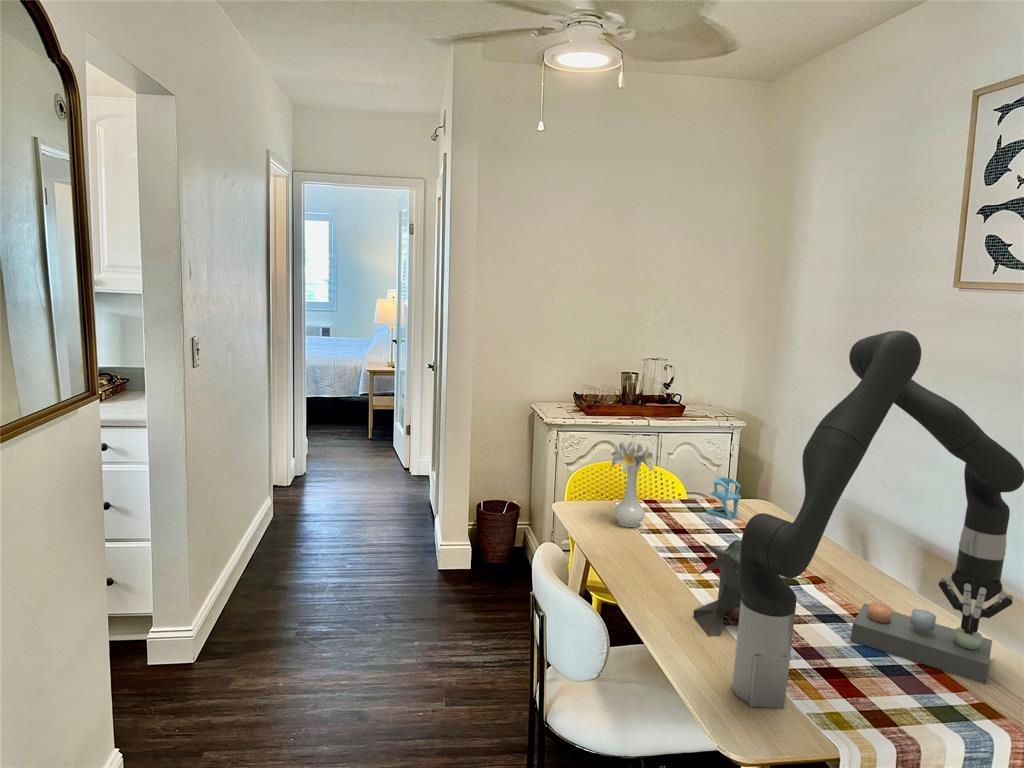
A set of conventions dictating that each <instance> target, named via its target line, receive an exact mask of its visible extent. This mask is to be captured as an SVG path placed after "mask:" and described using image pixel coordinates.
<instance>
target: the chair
mask: <svg viewBox="0 0 1024 768" xmlns="http://www.w3.org/2000/svg"><path fill="white" fill-rule="evenodd" d="M729 484H733V485H735V486H736V487H737V488H736V489H735V493H734V492H731V491H729V489H730V487H729ZM718 486H721V487H723V488H724V490H719V491H718ZM713 487H714V490H713V491H711V495H712V496H713V497H716V498H717V499H718V500H719V502H721V504H722V506H723V507H718V508H712V509H708V510H707V509H706V514H707V515H708V514H709V515H711V516H715V517H719V518H723V519H725V520H729V521H732V519H735V520H737V519H738V510H739V509H738V507H739V500H740V499H742V495H740V494H739V493H740V492H739V491H740V489H741V484H739V483H738V481H736V480H735V479H732V478H729V477H724V476H721V477H718V478H716V479H715V480H714V481H713ZM731 500H733V512H732V511H730V510H729V507H728V505H727V502H728V501H731ZM722 511H723V512H725V514H724V513H720V512H722Z"/></svg>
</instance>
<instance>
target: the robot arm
mask: <svg viewBox="0 0 1024 768" xmlns="http://www.w3.org/2000/svg"><path fill="white" fill-rule="evenodd" d="M921 359H922V346H921V344H920V341H919V340H918V338H917V337H916V336H915V334H913V333H911V332H908V331H905V330H890V331H885V332H883V333H879V334H874V335H870V336H867V337H864V338H862V339H859V340H857V341H856V342H855V343H854V344H853V345H852V347H851V348H850V351H849V364H850V365H849V366H850V368H851V369H852V371H853V372H854V374H855V375H856V376H857V377H858V378H859V379H860V382H859V383H858V384H857V386H856V387H855V388H853V390H852V391H850V392H849V394H848V395H846V396H845V398H844V397H843V399H842V400H841V401H839V403H837V404H836V405H835V406H834V407H833V408H832V409H831V410H830V411H829V412H828V413H826V415H825V416H824V417H823V418H822V419H821V420H820V421H819V423H818V425H817V426H816V427H815V429H814V431H813V433H812V434H811V436H810V438H809V440H808V441H807V443H806V444H805V447H804V449H803V452H802V474H803V481H804V499H803V503H802V505H801V507H800V510H799V512H798V514H797V516H796V517H795V519H794V520H793V522H792V521H788V520H785V519H783V518H781V517H780V518H779V517H777V516H775V515H772V514H768V513H764V512H763V513H757V514H755V515H753V516H752V517H751V518H750V519H749V520H748V521H747V522H746V525H745V527H744V528H743V532H742V537H741V551H740V575H739V585H740V589H741V592H742V595H741V606H740V614H739V619H738V625H737V635H736V636H737V637H736V646H735V653H734V655H735V656H734V662H733V663H734V665H733V675H732V685H731V688H732V691H733V692H734V694H735V696H737V697H738V698H739V699H741V700H742V701H744V702H746V703H747V704H748V706H750V707H754V708H777V709H779V708H781V709H783V708H785V705H786V696H787V687H788V681H789V679H788V678H789V671H790V663H791V662H790V661H791V660H790V659H791V652H792V643H793V633H794V626H795V625H794V624H795V617H796V608H797V595H796V593H795V591H794V589H792V588H791V586H790V585H789V584H787V583H786V582H785V580H784V579H783V578H782V577H784V578H788V579H795V578H797V577H799V576H801V575H802V574H803V573H804V572H805V570H806V569H807V567H809V565H810V564H811V562H812V560H813V558H814V556H815V553H816V551H817V549H818V547H819V544H820V542H821V539H822V537H823V535H824V533H825V530H826V528H827V526H828V524H829V521H830V519H831V517H832V516H833V515H832V514H833V512H834V511H835V509H836V508H835V507H836V506H837V504H838V502H839V501H840V498H841V496H842V494H844V493H843V492H845V489H846V487H847V486H848V483H849V482H850V480H851V479H852V477H853V476H854V473H855V472H856V470H857V469H858V468H859V465H860V464H861V462H862V460H863V458H864V457H865V454H866V453H867V451H868V449H869V447H870V445H871V443H872V441H873V439H874V437H875V436H876V434H877V433H878V430H879V429H880V427H881V425H882V423H883V422H884V420H885V418H886V416H887V415H888V412H890V409H891V408H892V406H893V405H894V404H895V405H896V406H897V407H898V408H900V409H901V410H903V412H905V413H907V414H908V415H909V416H910V417H911V418H913V420H915V421H916V422H918V424H920V425H921V426H922V427H923V428H924V429H925V430H926V431H928V433H930V435H931V436H932V437H933V438H934V439H936V441H937V442H939V443H940V445H942V446H943V447H944V449H946V450H947V451H948V453H950V454H951V455H952V456H953V457H955V458H957V459H959V460H960V461H962V462H964V463H965V464H964V474H963V475H964V477H963V478H964V487H965V488H964V489H965V497H966V504H967V505H966V509H965V515H964V523H963V528H962V529H961V530H962V531H961V533H960V538H959V542H958V551H957V558H956V565H955V568H954V571H953V572H952V573H951V576H950V577H949V576H948V577H947V578H944V577H942V578H940V579H939V582H938V587H939V588H940V590H941V591H942V592H943V594H944V596H945V597H946V599H947V601H948V602H949V604H950V605H951V606H952V608H953V610H956V611H959V612H960V613H962V615H961V616H962V618H961V623H960V627H961V628H962V629H964V632H965V633H968V632H969V633H968V634H971V635H973V632H975V633H976V632H978V631H979V625H980V624H979V623H980V619H982V618H986V619H990V618H993V617H994V616H995V615H997V614H999V613H1000V612H1002V611H1004V610H1005V609H1007V608H1008V607H1010V606H1011V605H1013V601H1014V597H1013V596H1012V595H1010V594H1008V593H1006V592H1005V591H1004V590H1003V584H1002V574H1003V567H1004V562H1005V557H1006V550H1007V549H1006V548H1007V535H1008V533H1007V532H1008V527H1009V521H1010V515H1011V512H1010V511H1011V510H1010V507H1009V505H1008V503H1006V502H1005V500H1004V499H1003V498H1002V495H1001V494H1002V493H1011V492H1015V491H1017V490H1019V488H1021V487H1022V485H1023V484H1024V467H1023V465H1022V463H1021V462H1020V460H1018V458H1017V457H1016V456H1015V455H1013V453H1011V452H1009V450H1007V449H1006V448H1004V447H1003V446H1002V445H1001V444H999V443H998V442H997V441H995V440H994V439H993V438H991V437H990V436H989V435H988V434H987V433H985V431H984V430H983V429H982V428H981V427H980V426H979V425H978V424H977V423H976V422H975V421H974V419H972V418H971V417H970V416H969V414H967V413H966V412H965V411H964V410H963V409H962V408H960V407H959V406H958V405H956V404H954V403H953V402H951V401H950V400H948V399H946V398H945V397H943V396H941V395H939V394H937V393H935V392H933V391H931V390H929V389H927V388H926V387H924V386H922V385H921V384H919V383H918V382H916V381H915V380H913V379H912V378H913V376H914V375H915V374H916V372H917V371H918V369H919V367H920V364H921ZM781 576H782V577H781ZM954 587H956V589H957V591H958V592H959V594H960V595H961V596H962V597H963V598H962V599H963V600H962V601H963V602H961V601H960V598H959V597H958V596H957V594H956V593H955V591H954V590H953V589H954ZM997 595H998V596H997ZM996 596H997V598H996V601H994V603H992V604H990V605H989V606H987V607H986V608H983V607H984V602H985V603H986V602H989V601H991V600H992V599H993V598H995V597H996ZM972 600H974V601H975V604H974V607H973V610H972ZM971 611H972V612H971Z"/></svg>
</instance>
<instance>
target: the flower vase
mask: <svg viewBox="0 0 1024 768" xmlns="http://www.w3.org/2000/svg"><path fill="white" fill-rule="evenodd" d="M610 455H611V456H612V461H611V466H610V468H609V470H611V469H612V468H613V467H614V466H615V465H621V472H626V484H625V491H624V492H625V493H624V495H623V498H622V500H621V501H620V502H619V503H618V504H617V505H616V506H615V507H614V509H613V516H614V517H615V519H616V520H617V523H618V524H619V526H622V527H624V526H625V527H624V528H629V527H633V528H636V527H639V525H640V523H641V522H643V521H644V519H645V517H646V512H645V509H644V508H643V507H642V505H641V504H640V503H639V500H638V496H637V484H638V483H637V482H638V481H637V480H638V473H639V469H640V467H642V463H643V464H644V465H645V466H646V467H647V468H648V469H650V470H652V472H655V468H654V465H653V464H652V462H654V460H655V457H654V456H653V453H652V452H650V450H649V446H648V445H646V448H645V450H644V449H643V445H642V444H639V443H638V442H634V443H633V441H630V442H628V444H627V445H625V443H624V442H623V441H621V442H620V443H619V446H616V448H615V451H613V452H612V453H611V454H610Z"/></svg>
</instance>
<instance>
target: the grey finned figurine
mask: <svg viewBox="0 0 1024 768" xmlns="http://www.w3.org/2000/svg"><path fill="white" fill-rule="evenodd" d="M741 541H742V539H740V540H739V539H737V540H733V542H731V543H730V544H729V545H728V547H727V548H726V549H725V550H721V549H719V548H717V547H715V546H713V545H711V544H709V543H707V542H705V541H703V540H701V542H702V544H703V545H705V546H706V548H707V549H708V550H710V551H711V552H712V554H714V555H715V556H716V559H715V560H714V561H712V562H711V563H710V564H709V565H708V566H706V568H704V569H702V571H701V572H700V573H698V574H697V576H700V575H702V574H705V573H707V572H710V571H713V570H716V569H718V568H719V583H718V584H719V585H718V593H717V600H714V601H712V602H709V603H708V604H704V605H702V606H700V607H697V608H696V609H694V610H693V616H692V617H693V619H694V620H695V621H696V622H697V624H698V625H699V626H700V628H701V629H702V630H703V632H704V633H705V634H706V635H707V636H708V637H721V636H722V630H723V623H724V618H725V617H726V618H729V619H735V620H739V614H740V606H741V595H742V592H741V589H740V585H739V575H740V551H741Z"/></svg>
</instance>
